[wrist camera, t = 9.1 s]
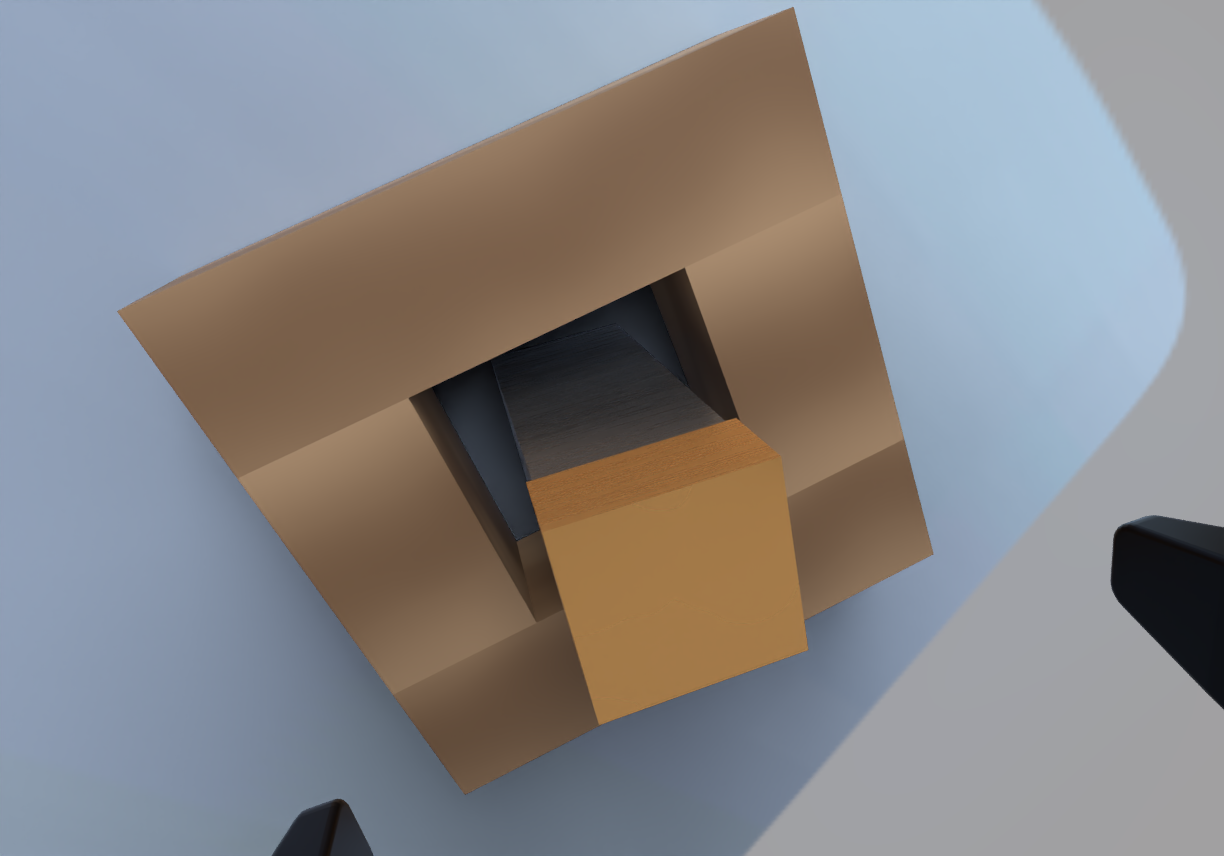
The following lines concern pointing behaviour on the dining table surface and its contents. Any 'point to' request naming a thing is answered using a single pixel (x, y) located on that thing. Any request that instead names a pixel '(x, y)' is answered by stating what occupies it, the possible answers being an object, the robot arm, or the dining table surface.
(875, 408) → the block
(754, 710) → the dining table surface
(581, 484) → the orange and grey peg
